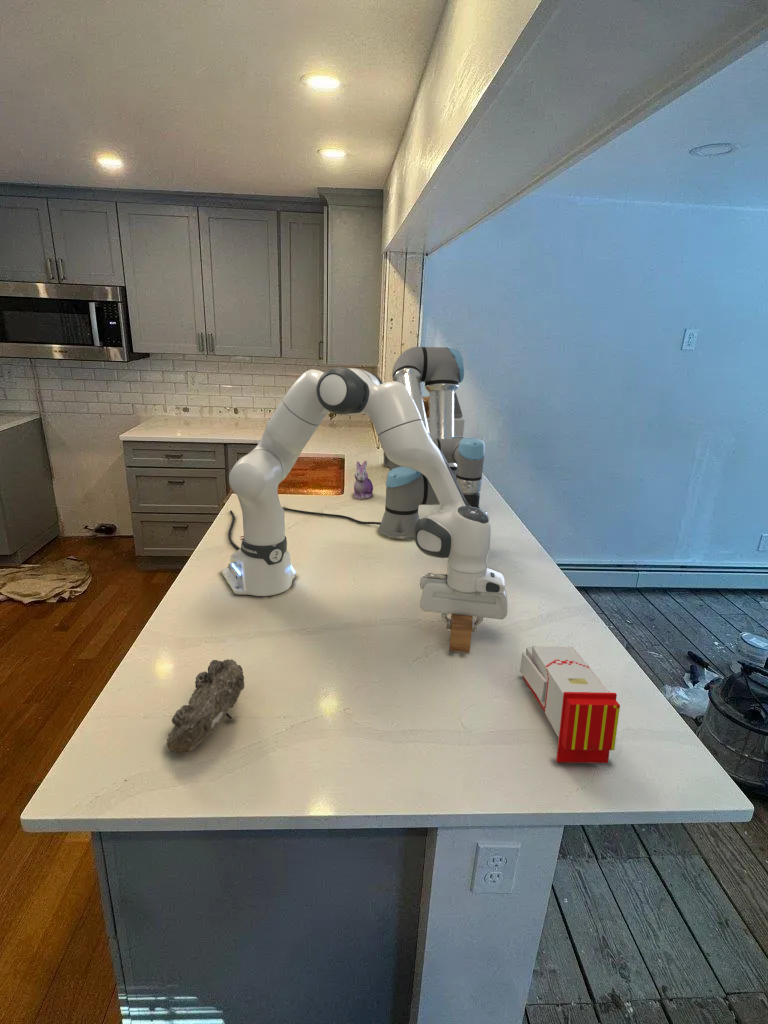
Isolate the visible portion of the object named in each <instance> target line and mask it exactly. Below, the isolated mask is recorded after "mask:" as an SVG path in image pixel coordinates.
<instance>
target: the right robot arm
mask: <svg viewBox="0 0 768 1024" xmlns="http://www.w3.org/2000/svg"><path fill="white" fill-rule="evenodd" d="M391 377H392V381H395V382H400V383H402V384H403V385H404V386H405V387H406V388H407V390H408V391H409V393H410V394H411V396H412V398H413V400H414V402H415V404H416V406H417V408H418V411H419V413H420V415H421V418H422V421H423V423H424V426H425V428H426V430H427V432H428V434H429V436H430V438H431V439H432V441H433V442H434V444H435V445H436V446H437V447H438V448H439V449H440V450H441V452H442V453H443V455H444V457H445V458H446V460H447V462H448V464H449V466H450V468H451V470H452V472H453V475H454V477H455V479H456V481H457V483H458V485H459V487H460V489H461V491H462V493H463V495H464V497H465V499H466V500H467V502H468V503H469V504H470V505H471V507H476V508H478V509H481V508H480V498H481V493H480V492H481V490H482V489H481V488H482V479H483V470H484V462H485V456H486V443H485V442H484V441H483V440H482V439H479V438H475V437H464V436H463V437H460V436H454V392H455V393H456V391H457V389H458V388H459V384H460V383H462V382H463V381H464V379H465V361H464V356H463V354H462V353H461V351H460V350H459V349H458V348H456V347H455V348H454V347H447V346H412V347H410V348H407V349H406V350H404V351H403V352H402V353H401V354H400V355H399V356H398V358H397V359H396V361H395V362H394V365H393V367H392V375H391ZM421 383H424V389H425V390H426V391H427V392H428V395H429V396H428V397H429V427H428V422H427V417H426V412H425V407H424V402H423V397H424V396H423V393H422V388H421V387H422V386H421ZM384 505H385V507H384V508H385V509H384V513H383V515H382V519H381V521H362V520H358V519H355V518H353V517H351V516H348V515H343V514H334V513H325V512H317V511H307V510H302V509H301V510H300V509H293V508H289V507H285V506H281V507H282V508H283V509H284V511H288V512H293V513H300V514H306V515H314V516H324V517H334V518H341V519H346V520H350V521H352V522H355V523H357V524H361V525H377V526H378V525H379V527H378V533H379V534H380V535H381V536H382V537H385V538H387V539H389V540H395V541H410V540H414V527H415V524H416V523H417V521H418V520H420V519H421V518H420V515H419V507H420V506H441V505H440V503H439V501H438V499H437V496H436V494H435V492H434V490H433V488H432V486H431V484H430V482H429V480H428V479H427V478H426V477H425V476H424V475H423V474H422V473H420V472H419V471H416V470H414V469H411V468H406V467H397V468H394V469H392V470H390V469H389V470H388V473H387V475H386V480H385V504H384ZM484 512H485V513H486V514H487V515H488V516H489V513H488V511H486V510H485V511H484Z"/></svg>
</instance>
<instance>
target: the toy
mask: <svg viewBox="0 0 768 1024" xmlns="http://www.w3.org/2000/svg"><path fill="white" fill-rule="evenodd" d="M525 649H526V650H525V652H522V653H521V660H520V666H519V672H520V673H521V675H522V679H523V680H524V682H525V684H526V686H527V687H528V689H529V690H530V692H531V693H532V695H533V697H534V698H535V700H536V701H537V703H538V705H540V707H541V709H542V710H543V712H544V713H545V716H546V718H547V720H548V721H549V723H550V725H551V727H552V729H553V730H554V732H555V734H556V736H557V737H558V742H557V751H556V759H555V760H556V762H557V763H575V764H576V763H577V764H578V763H579V764H581V763H583V764H585V763H586V764H592V763H593V764H608V763H609V756H610V751H615V747H616V739H617V731H618V726H619V725H618V723H619V718H620V717H619V716H620V711H621V710H620V709H621V705H620V703H619V702H618V701H617V696H618V694H617V693H616V692H610V691H609V690H608V688H607V687H606V686H605V685H604V683H603V682H602V681H601V679H600V678H599V677H598V676H597V675H596V674H595V672H594V671H593V670H592V669H591V668H590V665H588V664H587V662H586V661H585V660H584V659H583V657H582V656H581V654H579V652H578V651H577V650H576V649H575V647H574V646H545V645H544V646H543V645H542V646H540V645H535V646H534V645H532V646H531V647H530V646H526V648H525Z"/></svg>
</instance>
